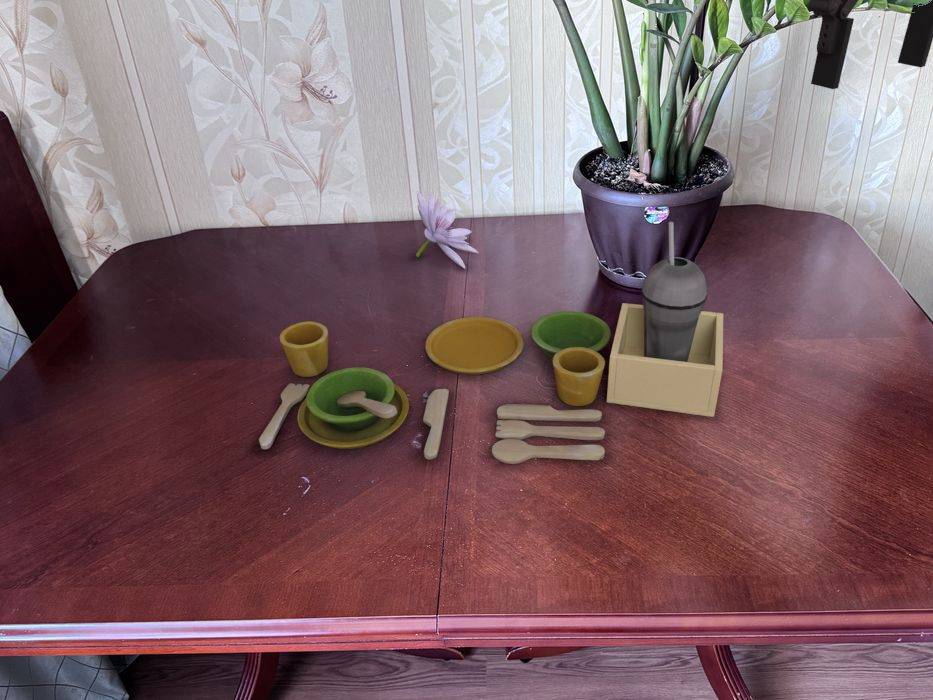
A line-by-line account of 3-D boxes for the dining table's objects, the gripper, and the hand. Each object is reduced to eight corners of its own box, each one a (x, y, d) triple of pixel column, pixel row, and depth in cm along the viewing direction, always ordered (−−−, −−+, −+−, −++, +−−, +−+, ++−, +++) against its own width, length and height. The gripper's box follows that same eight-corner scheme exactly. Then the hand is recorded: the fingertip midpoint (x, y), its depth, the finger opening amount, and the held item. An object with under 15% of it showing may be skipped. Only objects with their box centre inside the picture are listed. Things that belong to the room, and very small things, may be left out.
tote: (715, 357, 92) (723, 313, 89) (713, 417, 83) (722, 370, 79) (618, 346, 96) (622, 302, 92) (606, 402, 86) (609, 356, 82)
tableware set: (243, 454, 82) (230, 410, 78) (314, 322, 104) (306, 283, 101) (619, 469, 77) (623, 423, 73) (607, 327, 99) (609, 286, 96)
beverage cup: (691, 397, 85) (716, 241, 74) (628, 387, 87) (643, 234, 76) (696, 362, 91) (720, 212, 79) (637, 354, 93) (652, 207, 82)
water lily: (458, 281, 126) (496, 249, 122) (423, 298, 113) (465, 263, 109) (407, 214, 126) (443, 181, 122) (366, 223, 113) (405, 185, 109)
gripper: (975, -175, 73) (913, 50, 85) (797, -163, 64) (755, 87, 76) (1056, -179, 67) (977, 62, 79) (874, -167, 58) (815, 104, 70)
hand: (869, 75), depth 77 cm, fingers open, 13 cm apart
